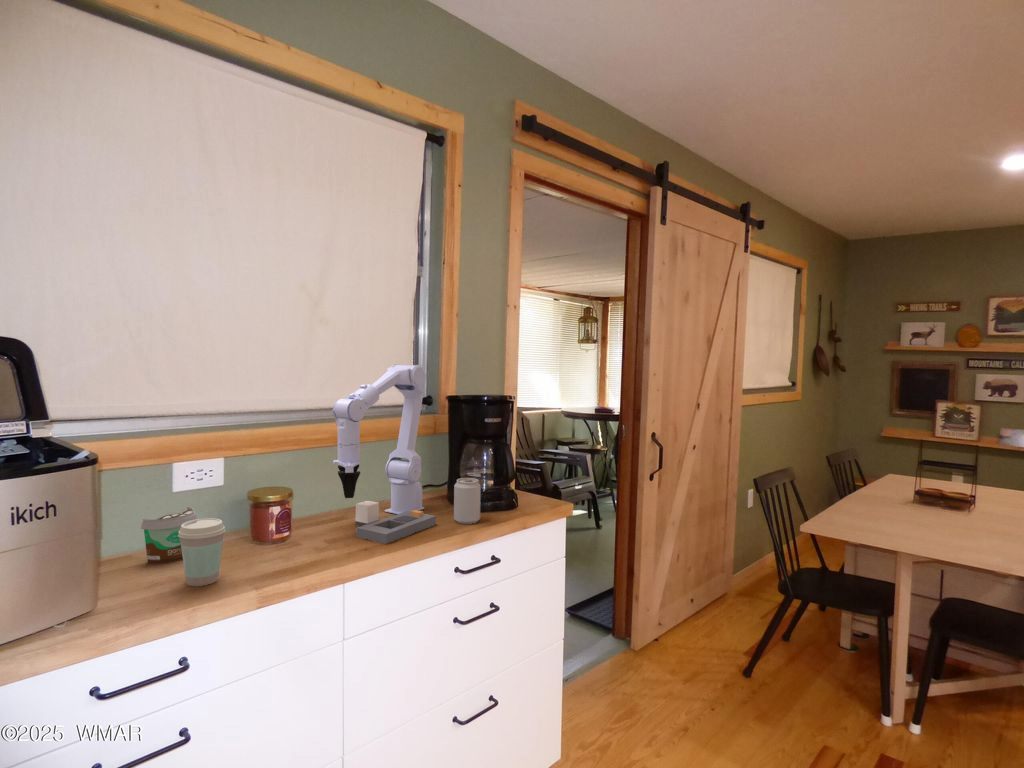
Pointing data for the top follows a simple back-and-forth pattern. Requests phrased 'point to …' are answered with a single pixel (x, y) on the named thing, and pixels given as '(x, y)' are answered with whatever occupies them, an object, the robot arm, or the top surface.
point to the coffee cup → (201, 550)
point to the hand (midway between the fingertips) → (348, 494)
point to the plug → (367, 512)
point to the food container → (165, 536)
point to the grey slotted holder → (396, 526)
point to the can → (467, 500)
